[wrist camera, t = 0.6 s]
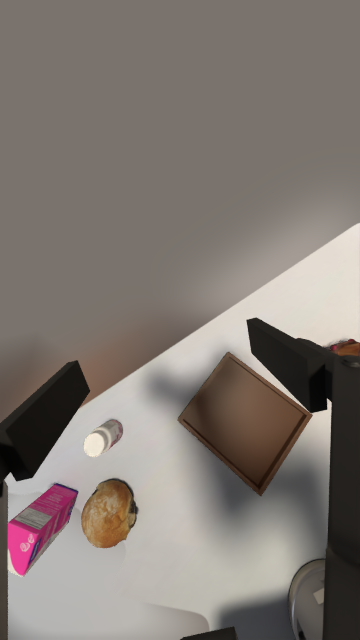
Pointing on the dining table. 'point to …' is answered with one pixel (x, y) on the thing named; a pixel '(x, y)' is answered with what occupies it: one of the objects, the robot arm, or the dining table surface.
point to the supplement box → (38, 527)
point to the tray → (245, 421)
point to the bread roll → (108, 514)
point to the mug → (346, 348)
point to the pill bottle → (102, 438)
